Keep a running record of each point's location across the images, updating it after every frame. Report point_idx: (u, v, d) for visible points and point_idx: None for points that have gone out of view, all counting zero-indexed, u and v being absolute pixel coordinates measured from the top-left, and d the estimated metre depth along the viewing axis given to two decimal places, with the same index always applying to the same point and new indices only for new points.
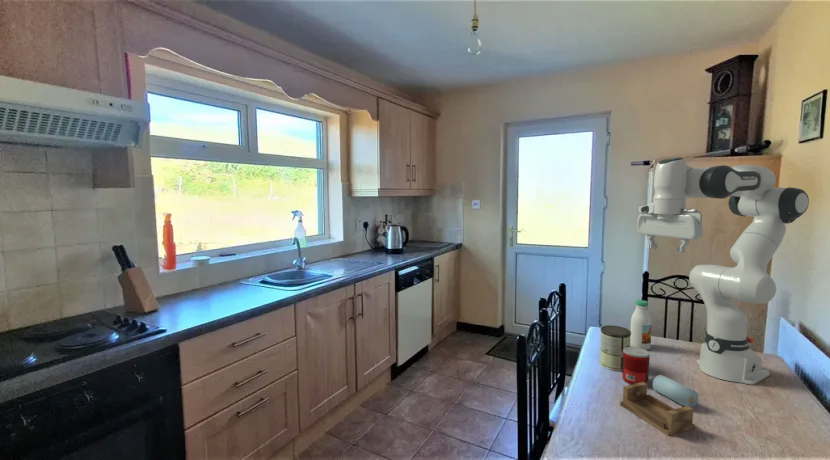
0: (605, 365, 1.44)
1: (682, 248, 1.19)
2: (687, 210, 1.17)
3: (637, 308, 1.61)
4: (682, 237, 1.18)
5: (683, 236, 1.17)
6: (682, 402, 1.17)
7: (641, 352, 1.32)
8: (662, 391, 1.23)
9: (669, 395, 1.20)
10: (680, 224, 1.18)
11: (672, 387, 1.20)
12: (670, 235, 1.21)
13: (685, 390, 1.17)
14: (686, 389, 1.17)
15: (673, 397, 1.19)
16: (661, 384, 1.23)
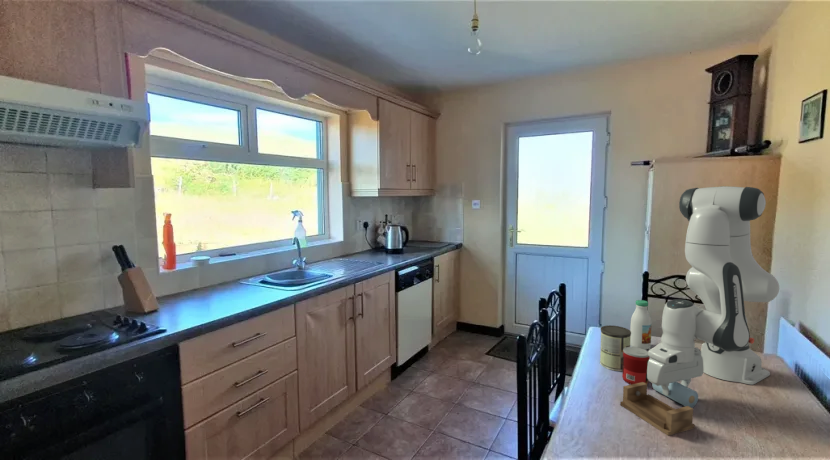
0: (605, 365, 1.44)
1: None
2: None
3: (637, 308, 1.61)
4: (695, 376, 1.21)
5: (696, 375, 1.21)
6: (681, 402, 1.17)
7: (641, 352, 1.32)
8: (662, 391, 1.23)
9: (669, 395, 1.21)
10: (693, 365, 1.21)
11: (672, 387, 1.20)
12: (686, 378, 1.20)
13: (684, 390, 1.17)
14: (685, 389, 1.17)
15: (673, 397, 1.19)
16: None
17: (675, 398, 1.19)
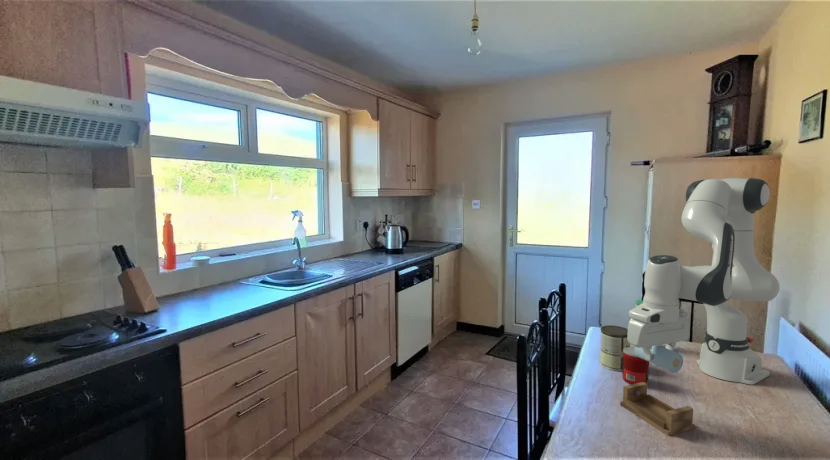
0: (605, 365, 1.44)
1: None
2: None
3: None
4: (680, 340, 1.11)
5: (681, 339, 1.11)
6: (665, 365, 1.06)
7: None
8: (644, 356, 1.12)
9: None
10: (678, 327, 1.11)
11: (655, 350, 1.10)
12: (670, 341, 1.10)
13: (668, 352, 1.07)
14: (669, 351, 1.07)
15: (656, 361, 1.09)
16: None
17: (658, 362, 1.08)
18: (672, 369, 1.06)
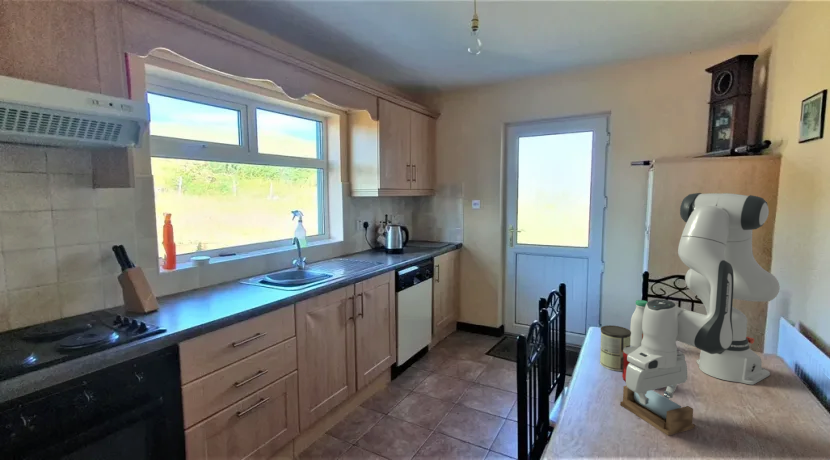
0: (605, 365, 1.44)
1: None
2: None
3: (637, 308, 1.61)
4: (678, 383, 1.12)
5: (679, 382, 1.12)
6: (663, 415, 1.08)
7: None
8: None
9: (650, 407, 1.12)
10: (676, 370, 1.12)
11: (655, 398, 1.11)
12: (668, 384, 1.11)
13: (668, 402, 1.08)
14: (669, 401, 1.09)
15: (654, 409, 1.10)
16: None
17: (657, 411, 1.10)
18: None
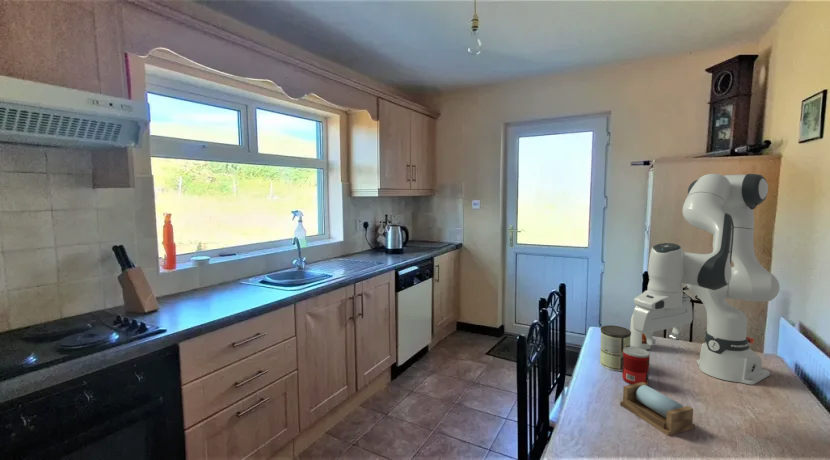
0: (605, 365, 1.44)
1: None
2: None
3: None
4: (683, 324, 1.15)
5: (684, 323, 1.15)
6: (665, 412, 1.08)
7: (641, 352, 1.32)
8: (645, 399, 1.14)
9: (652, 404, 1.12)
10: (681, 312, 1.15)
11: (659, 396, 1.12)
12: (674, 325, 1.14)
13: (672, 401, 1.09)
14: (673, 400, 1.09)
15: (657, 406, 1.10)
16: (646, 392, 1.15)
17: (659, 407, 1.10)
18: None
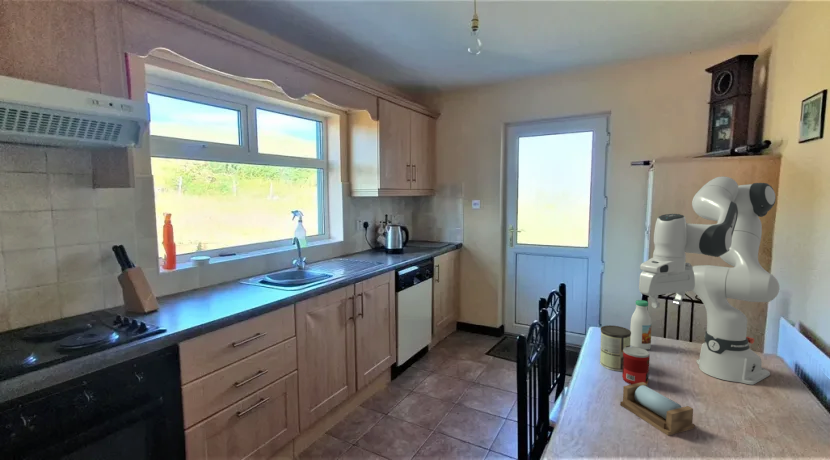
0: (605, 365, 1.44)
1: None
2: None
3: (637, 308, 1.61)
4: (686, 290, 1.24)
5: (687, 289, 1.24)
6: (664, 414, 1.08)
7: (641, 352, 1.32)
8: (644, 401, 1.14)
9: (651, 406, 1.12)
10: (684, 278, 1.23)
11: (656, 397, 1.11)
12: (678, 290, 1.22)
13: (669, 402, 1.08)
14: (670, 401, 1.09)
15: (655, 408, 1.10)
16: (644, 394, 1.15)
17: (657, 409, 1.10)
18: None
